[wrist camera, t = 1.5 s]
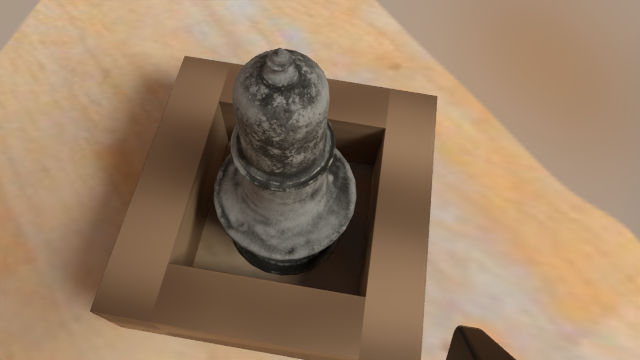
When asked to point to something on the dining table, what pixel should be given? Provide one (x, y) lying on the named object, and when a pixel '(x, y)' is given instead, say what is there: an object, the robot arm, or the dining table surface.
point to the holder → (262, 295)
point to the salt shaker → (283, 167)
